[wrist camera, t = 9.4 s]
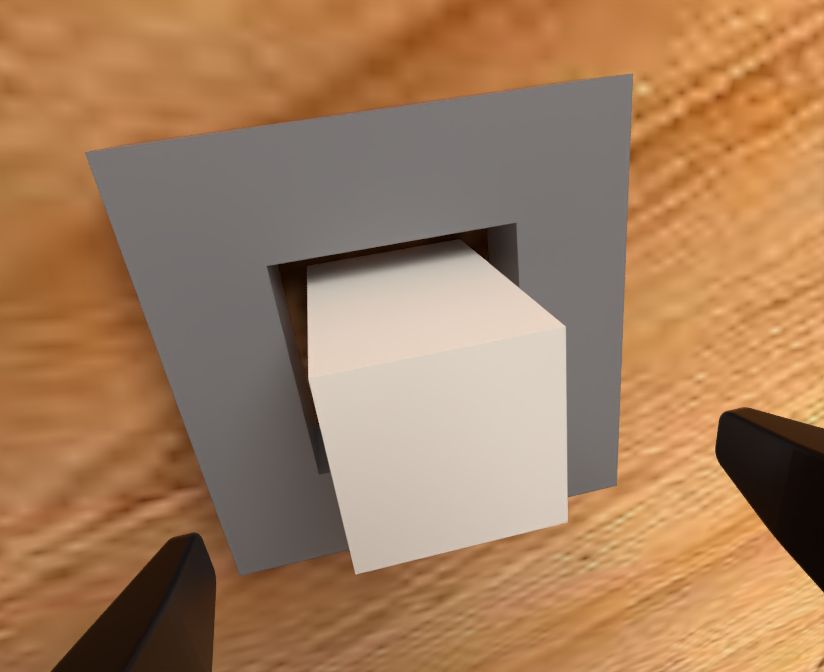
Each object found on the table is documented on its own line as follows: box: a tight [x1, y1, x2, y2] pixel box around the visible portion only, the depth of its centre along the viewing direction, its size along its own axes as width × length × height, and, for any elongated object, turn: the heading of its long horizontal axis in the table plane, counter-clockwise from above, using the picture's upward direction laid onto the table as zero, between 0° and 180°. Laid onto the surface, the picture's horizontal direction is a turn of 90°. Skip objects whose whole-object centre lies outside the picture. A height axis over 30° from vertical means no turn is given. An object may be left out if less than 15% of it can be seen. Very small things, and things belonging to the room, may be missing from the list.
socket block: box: [85, 74, 633, 576], centre depth 15 cm, size 12×12×2 cm
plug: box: [307, 239, 568, 575], centre depth 13 cm, size 4×4×7 cm
